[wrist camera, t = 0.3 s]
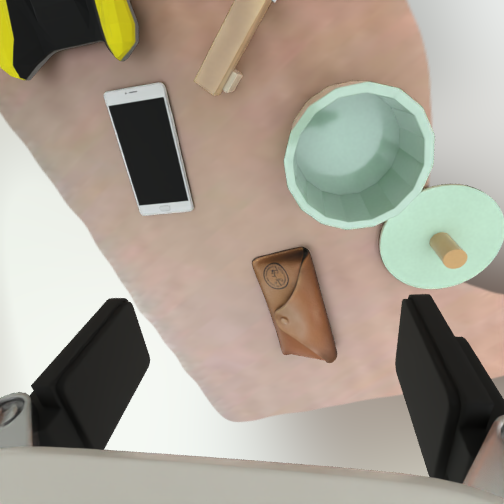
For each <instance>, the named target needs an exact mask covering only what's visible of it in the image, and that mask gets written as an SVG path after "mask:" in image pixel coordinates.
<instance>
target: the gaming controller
mask: <svg viewBox="0 0 504 504" xmlns="http://www.w3.org/2000/svg"><path fill="white" fill-rule="evenodd" d="M102 41H104V42H105V44H106V46H107V47H108V49H109V50H110V52H111V53H112V54H113V55H114V56H115V57H116V58H117V59H118V60H119V61H125V60H126V59H127V58H128V57H129V56H130V55H131V53H132V52H133V50H134V48H135V47H136V45H137V44H138V42H139V25H138V22H137V19H136V17H135V14H134V11H133V8H132V6H131V3H130V0H0V67H1V68H2V69H3V70H4V71H5V72H6V73H8V74H9V75H10V76H12V77H15V78H19V79H22V80H31V78H32V77H33V76H34V75H35V74H36V73H37V71H38V70H39V69H40V68H41V67H42V66H43V65H44V64H45V62H46V61H47V60H48V59H49V58H50V57H51V56H52V55H53V54H55V53H56V52H58V51H61V50H65V49H69V48H74V47H79V46H83V45H88V44H92V43H97V42H102Z"/></svg>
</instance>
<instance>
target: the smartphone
mask: <svg viewBox="0 0 504 504" xmlns="http://www.w3.org/2000/svg"><path fill="white" fill-rule="evenodd" d="M104 99H105V102H106V106H107V109H108V112H109V115H110V118H111V122H112V125H113V128H114V131H115V134H116V138H117V141H118V144H119V147H120V150H121V154H122V157H123V160H124V163H125V166H126V170H127V173H128V176H129V179H130V182H131V186H132V189H133V192H134V195H135V198H136V202H137V205H138V208H139V211H140V214H141V215H143V216H147V215H158V214H168V213H179V212H190V211H192V210H193V207H194V206H193V202H192V198H191V193H190V189H189V185H188V181H187V176H186V172H185V168H184V164H183V159H182V155H181V151H180V146H179V141H178V136H177V134H176V128H175V123H174V119H173V115H172V112H171V108H170V104H169V100H168V95H167V91H166V87H165V85H164V84H163V83H161V82H158V83H152V84H146V85H141V86H135V87H129V88H123V89H118V90H112V91H107V92H105V93H104Z"/></svg>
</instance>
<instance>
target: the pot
mask: <svg viewBox="0 0 504 504" xmlns="http://www.w3.org/2000/svg"><path fill="white" fill-rule="evenodd" d="M434 140H435V136H434V132H433V130H432V128H431V125H430V123H429V121H428V118H427V116H426V114H425V111H424V109H423V107H422V106H421V105H419V104H418V103H417V102H416V101H414V100H413V99H412V98H411V97H410V96H408V95H407V94H406V93H405V92H404V91H402V90H401V89H399V88H396V87H392V86H387V85H383V84H379V83H374V82H370V81H350V82H345V83H340V84H335V85H331V86H328V87H327V88H325V89H324V90H322V91H321V92H319V93H317V94H316V95H315V96H313V97H312V98H311V99H309V100H308V101H307V102H306V104H305V105H304V106H303V108H302V109H301V110H300V112H299V114H298V115H297V117H296V118H295V120H294V121H293V124H292V128H291V132H290V137H289V141H288V145H287V149H286V153H285V157H284V167H285V173H286V180H287V186H288V189H289V191H290V192H291V194H292V195H293V197H294V199H295V200H296V202H297V203H298V205H299V207H300V208H301V209H302V210H303V211H304V212H306V213H307V214H308V215H310V216H311V217H313V218H314V219H316V220H317V221H318V222H320V223H321V224H324V225H329V226H333V227H337V228H341V229H345V230H349V229H358V228H366V227H373V226H376V225H378V224H380V223H382V222H384V221H386V220H388V219H390V218H392V217H395V216H397V215H399V213H401V212H402V211H403V210H404V209H405V208H406V207H407V206H408V205H409V204H410V203H411V202H412V201H413V200H414V199H415V198H416V197H417V196H418V195H419V194H420V192H421V191H422V189H423V187H424V185H425V182H426V180H427V178H428V176H429V174H430V172H431V169H432V167H433V164H434Z"/></svg>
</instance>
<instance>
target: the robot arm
mask: <svg viewBox="0 0 504 504" xmlns="http://www.w3.org/2000/svg"><path fill="white" fill-rule="evenodd" d="M149 363H150V357H149V353H148V350H147V347H146V344H145V341H144V338H143V335H142V333H141V329H140V326H139V323H138V320H137V317H136V314H135V311H134V308H133V305H132V303H131V302H128V300H127V299H125V298H111V299H108V300H107V301H106V302H105V303H104V305H103V306H102V307H101V308H100V309H99V310H98V311H97V312H96V313H95V314H94V316H93V317H92V318H91V319H90V320H89V321H88V322H87V324H86V325H85V326H84V327H83V328H82V329H81V330H80V331H79V332H78V334H77V335H76V336H75V337H74V338H73V339H72V340H71V342H70V343H69V344H68V345H67V346H66V347H65V348H64V349H63V350H62V351H61V353H60V354H59V355H58V356H57V357H56V358H55V359H54V361H53V362H52V363H51V364H50V365H49V366H48V367H47V368H46V369H45V371H44V372H43V373H42V374H41V375H40V376H39V377H38V378H37V380H36V381H35V382H34V383H33V384H32V385H31V387H32V388H33V390H34V391H33V392H32V393H31V395H30V396H29V395H28V394H26V393H21V392H18V393H12V394H9V395H6V396H4V397H1V398H0V504H504V399H503V398H502V396H501V394H500V393H499V391H498V390H497V388H496V386H495V385H494V383H493V382H492V380H491V378H490V377H489V375H488V374H487V372H486V370H485V369H484V367H483V366H482V364H481V362H480V361H479V359H478V358H477V356H476V354H475V353H474V351H473V350H472V348H471V346H470V345H469V343H468V342H467V340H466V339H465V338H463V337H455V336H454V334H453V333H452V331H451V329H450V328H449V326H448V324H447V322H446V321H445V319H444V317H443V316H442V314H441V312H440V311H439V309H438V307H437V305H436V304H435V302H434V300H433V299H432V297H431V296H430V295H429V294H419V295H409V297H408V299H403V301H402V307H401V316H400V325H399V334H398V343H397V352H396V362H395V365H396V372H397V376H398V379H399V382H400V385H401V388H402V392H403V395H404V398H405V401H406V404H407V407H408V410H409V413H410V416H411V420H412V423H413V426H414V430H415V433H416V436H417V439H418V442H419V446H420V448H421V452H422V455H423V458H424V461H425V465H426V468H427V471H428V474H429V476H430V477H425V476H418V475H411V474H404V473H393V472H383V471H373V470H363V469H352V468H342V467H329V466H316V465H303V464H292V463H278V462H266V461H254V460H240V459H227V458H213V457H199V456H186V455H185V456H184V455H171V454H157V453H144V452H128V451H113V450H104V448H105V446H106V445H107V443H108V441H109V439H110V437H111V435H112V433H113V432H114V429H115V428H116V426H117V424H118V422H119V420H120V419H121V417H122V415H123V413H124V411H125V409H126V408H127V406H128V404H129V402H130V400H131V398H132V396H133V395H134V393H135V391H136V389H137V387H138V385H139V383H140V382H141V380H142V378H143V376H144V374H145V372H146V371H147V369H148V367H149Z"/></svg>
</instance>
